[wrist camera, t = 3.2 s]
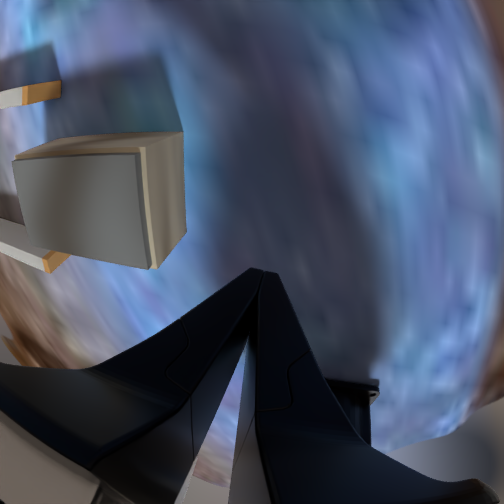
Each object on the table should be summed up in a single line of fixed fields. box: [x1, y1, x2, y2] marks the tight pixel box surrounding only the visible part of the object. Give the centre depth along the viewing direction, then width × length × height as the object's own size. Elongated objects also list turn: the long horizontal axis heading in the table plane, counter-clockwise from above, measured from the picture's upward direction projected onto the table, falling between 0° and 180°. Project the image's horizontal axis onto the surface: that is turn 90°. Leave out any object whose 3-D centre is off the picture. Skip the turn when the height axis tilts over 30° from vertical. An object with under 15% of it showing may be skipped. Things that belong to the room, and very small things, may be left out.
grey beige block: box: [12, 132, 187, 270], centre depth 12 cm, size 8×5×4 cm, turn 87°
